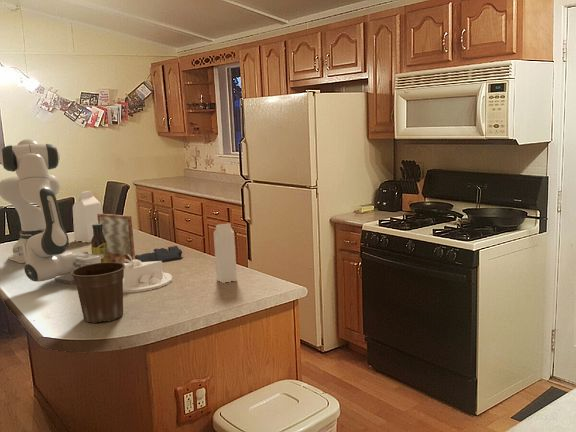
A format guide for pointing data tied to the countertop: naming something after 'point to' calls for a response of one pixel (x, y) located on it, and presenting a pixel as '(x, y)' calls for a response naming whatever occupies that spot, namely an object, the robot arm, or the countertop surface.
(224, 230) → the milk
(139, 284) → the dish
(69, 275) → the slate tile
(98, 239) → the sauce bottle
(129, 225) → the cedar box
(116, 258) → the brown rounded block
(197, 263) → the countertop surface
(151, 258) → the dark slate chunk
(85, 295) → the plant pot
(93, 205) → the milk
